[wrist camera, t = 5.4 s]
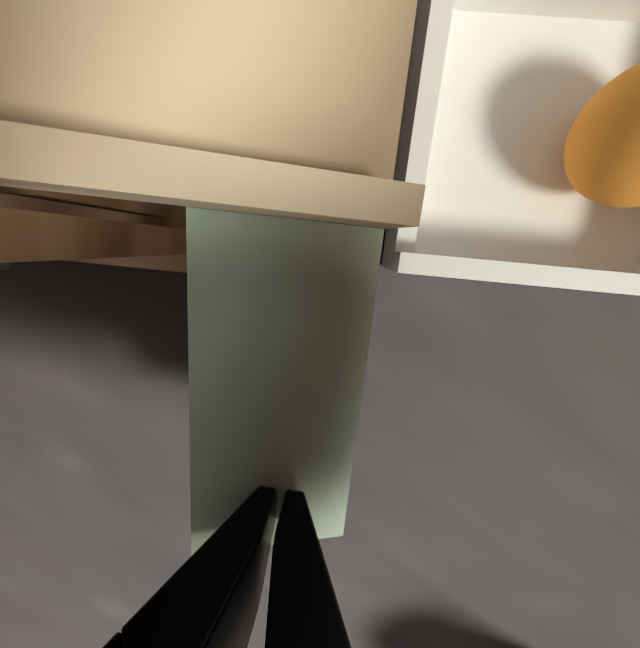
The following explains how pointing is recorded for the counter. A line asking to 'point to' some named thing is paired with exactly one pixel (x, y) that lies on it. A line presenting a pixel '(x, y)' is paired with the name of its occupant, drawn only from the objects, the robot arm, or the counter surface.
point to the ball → (608, 144)
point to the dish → (511, 144)
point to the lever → (236, 202)
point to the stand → (90, 230)
